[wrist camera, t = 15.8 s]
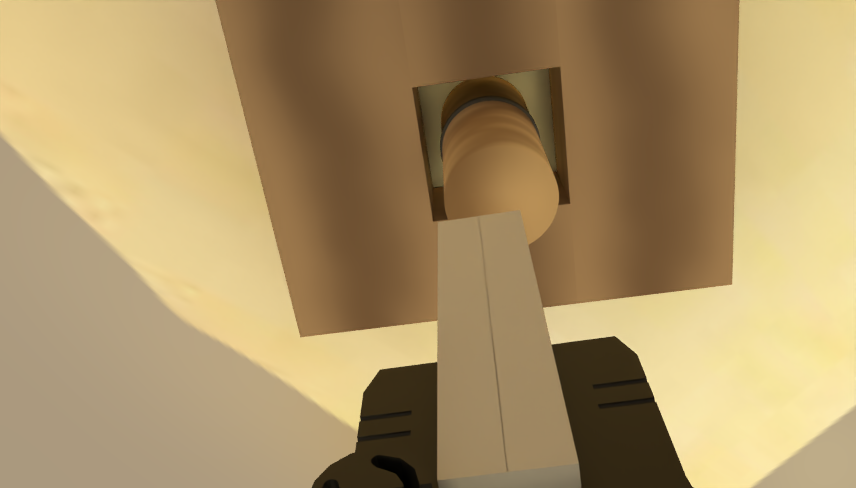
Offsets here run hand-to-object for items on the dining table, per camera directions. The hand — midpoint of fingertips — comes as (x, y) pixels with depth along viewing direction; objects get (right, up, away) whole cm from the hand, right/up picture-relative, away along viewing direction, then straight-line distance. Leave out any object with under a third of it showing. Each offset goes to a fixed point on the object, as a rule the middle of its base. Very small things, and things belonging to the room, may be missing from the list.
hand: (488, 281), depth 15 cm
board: (+2, +6, +22) cm, 23 cm away
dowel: (+1, +7, +22) cm, 23 cm away
